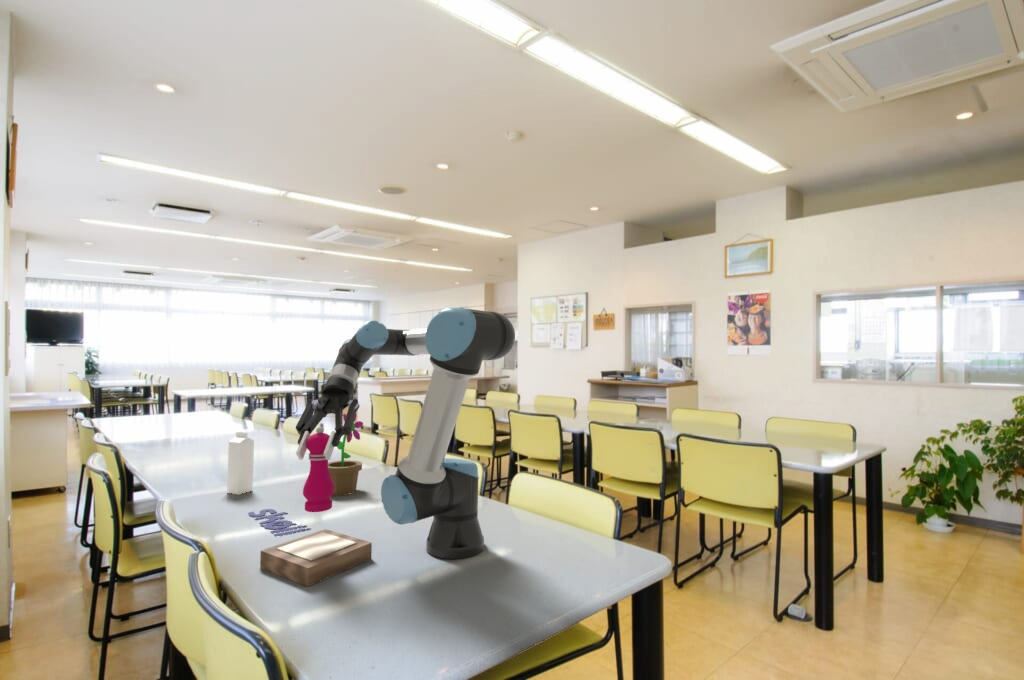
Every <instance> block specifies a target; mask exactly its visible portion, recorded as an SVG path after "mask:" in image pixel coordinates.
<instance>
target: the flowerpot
mask: <svg viewBox="0 0 1024 680" xmlns="http://www.w3.org/2000/svg"><path fill="white" fill-rule="evenodd" d="M346 416H347V413H343V417H342V420H343V421H344V422H345V419H346ZM356 419H357V413H356V414H355V418H354V422H353V426H352V429H351V433H350V435H343V436H342V437H343V438H342V441H341V440H340V442H339V445H338V446H337V447H336V448H337V449H338V450H339V451H340V450H341V451H340V452H341V455H340V456H341V457H340V458H341V460H335V461H328V470H329V474H330V476H331V478H332V481H333V483H334V493H333V495H332V496H336V495H339V496H345V495H344V494H348V495H350V494H349V493H352V494H354V493H356V492H357V485H358V478H359V471H363V470H362V469H363V462H361V461H360V460H359V461H358V460H348V459H350V458H351V457H352V456H351V455H350V454H349V453H347V452H345V444H346V442H347V443H351V440H353V437H354V438H355V439H356V440H357V441H360V439H361V434H360V432H359V431H358V430H357V429H359V428H362V427H363V425H364V423H363V421H360V420H359V421H357V420H356ZM355 421H356V422H355ZM343 427H344V425H343ZM345 459H347V460H345ZM355 491H356V492H355ZM353 492H354V493H353Z"/></svg>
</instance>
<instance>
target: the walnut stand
mask: <svg viewBox="0 0 1024 680" xmlns="http://www.w3.org/2000/svg"><path fill="white" fill-rule="evenodd" d="M372 544H373V543H372V542H371V541H368V540H364V539H360V538H358V537H354V536H351V535H347V534H345V533H340V532H337V531H333V530H330V529H327V528H324V529H321V530H318V531H315V532H313V533H310V534H305V535H303V536H301V537H297V538H294V539H291V540H288V541H285V542H282V543H279V544H276V545H273V546H271V547H267V548H265V549H262V550H260V558H259V559H260V560H259V563H260V564H259V565H260V566H259V569H262V570H265V571H268V572H270V573H272V574H274V575H278V576H280V577H282V578H285V579H287V580H290V581H292V582H295V583H298V584H299V583H300V584H299V585H302V584H303V586H304V585H305V586H304V587H307V586H308V587H310V586H309V585H311V584H313V583H315V584H317V583H319V582H318V581H320V580H322V581H324V580H326V579H325V578H327V577H329V578H331V577H333V576H335V575H334V574H336V575H338V574H340V573H342V572H341V571H343V572H345V571H346V569H347V570H349V569H351V568H350V567H352V568H353V566H354V567H356V566H359V565H361V564H363V563H365V562H367V560H368V561H370V560H372V551H373V549H372V548H373V547H372V546H373V545H372ZM369 559H370V560H369ZM362 562H363V563H362ZM360 563H361V564H360ZM358 564H359V565H358ZM348 568H349V569H348ZM344 570H345V571H344ZM339 572H340V573H339ZM337 573H338V574H337ZM332 575H333V576H332ZM330 576H331V577H330ZM323 579H324V580H323ZM327 579H328V578H327ZM316 582H317V583H316ZM320 582H321V581H320ZM313 585H314V584H313ZM311 586H312V585H311Z"/></svg>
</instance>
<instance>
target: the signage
mask: <svg viewBox="0 0 1024 680" xmlns="http://www.w3.org/2000/svg"><path fill="white" fill-rule="evenodd" d="M268 511H269V513H270V514H268V515H266V514H267V513H268ZM274 513H275V514H274ZM247 514H248V516H249V517H251V518H254V521H259V519H260V520H263V519H264V518H265V519H267V518H268V519H269V520H268V519H267V520H265V519H264V520H263V521H260V522H259V527H262V528H264V529H265V530H268V531H269V530H270V533H271V534H272V535H273V536H274V535H275V536H274V537H276V536H280V537H283V535H285V536H288V534H289V535H292V533H293V534H297V533H296V532H298V533H301V532H300V531H302V532H306V531H305V530H307V531H310V530H309V529H311V530H312V528H309V527H306V526H307V525H304V526H302V524H301V525H297V523H296V522H293V521H291V520H288V519H287V520H285V517H284V515H283V514H285V515H288V514H289V513H288V512H285V511H283V512H282V511H281V512H278V513H277V510H275V509H274V508H270V509H269V508H267V509H266V508H265V509H262V510H259V513H258V514H256V513H255V511H251V512H250V511H249V512H248V513H247ZM279 515H280V516H279ZM261 516H262V517H261ZM259 517H260V518H259ZM255 518H256V519H255ZM278 519H280V520H278ZM283 523H285V524H283ZM289 526H290V527H289ZM291 526H292V527H291ZM296 526H297V527H296ZM287 527H288V528H287ZM301 527H303V528H301ZM283 528H284V529H283ZM297 528H299V529H297ZM305 528H307V529H305ZM277 529H279V530H277ZM293 529H294V530H293ZM289 530H290V531H289ZM284 531H285V532H284ZM280 532H281V533H280ZM274 533H276V534H274Z"/></svg>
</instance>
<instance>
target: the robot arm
mask: <svg viewBox="0 0 1024 680" xmlns="http://www.w3.org/2000/svg"><path fill="white" fill-rule="evenodd" d="M513 325H514V324H513V323H512V322H511V321H510V320H509V318H508V317H506V316H505V315H504V314H501V313H499V312H497V311H489V310H488V311H487V310H479V309H472V308H466V307H461V306H460V307H446V308H443V309H442V310H440V311H438V312H437V313H435V314H434V316H433V317H432V318H431V319H430V321H429V322H428V325H427V327H425V328H424V327H423V328H411V329H410V328H409V329H393V328H388V327H386V325H384V324H383V323H382V322H379V321H378V320H373V319H372V320H368V321H366V322H365V323H364V324H363V325H361V327H359V328H358V329H357V330H356V332H355V334H354V335H353V336H352V337H351V338H349V339H346V340H344V342H343V343H342V345H341V347H339V350H338V354H337V356H336V358H335V360H334V363H333V366H332V368H331V370H330V373H329V376H328V377H327V380H326V382H325V384H324V387H323V389H322V392H321V395H320V396H319V397H318V399H314V400H313V399H311V398H308V399H307V400H306V407H305V408H304V410H303V412H302V414H301V416H300V418H299V420H298V422H297V424H296V425H295V430H296V432H297V433H298V435H299V438H298V440H297V444H298V447H297V450H296V452H295V454H296V456H297V458H298V459H299V460H302V461H303V459H304V457H305V455H306V452H307V451H308V449H307V440H308V438H309V437H310V436H311V435H312V433H313V431H314V430H315V429H317V427H318V425H319V424H320V423H321V421H322V420H323V419H324V418H326V417H327V416H328V415H330V414H333V415H334V421H335V422H334V426H335V427H334V430H332V431H331V432H330V435H329V436H330V437H329V440H328V442H327V445H326V448H325V451H324V453H323V454H324V456H325V458H326V460H328V461H330V460H331V458H332V455H333V451H334V449H335V448H337V446H338V445H339V442H340V441H341V439H342V437H344V435H350V433H351V429H352V426H353V422H354V423H355V421H354V418H355V414H356V415H357V411H358V410H359V409H360V403H359V401H358V399H357V398H355V399H353V400H352V397H353V395H354V394H353V393H354V391H355V387H356V386H357V382H358V379H359V376H360V374H361V371H362V368H363V367H364V365H365V364H366V363H367V362H368V361H369V360H370V359H371V358H372V357H373V356H374V355H375V356H376V355H379V356H383V355H384V356H385V355H386V356H390V355H391V356H408V357H409V356H419V355H430V357H429V362H430V363H431V365H432V367H433V369H432V372H431V373H432V374H431V376H430V380H429V384H428V386H427V390H426V394H425V397H424V400H423V404H422V407H421V410H420V414H419V418H418V421H417V424H416V428H415V430H414V434H413V438H412V440H411V444H410V448H409V450H408V451H409V452H408V454H407V456H405V457H402V458H401V459H400V460H399V462H398V466H397V469H396V471H395V474H390V475H389V476H387V477H385V478H384V479H383V481H382V483H381V487H380V499H381V502H382V506H383V509H384V511H385V514H386V515H387V516H388V518H389V519H390V520H391V521H392V522H393V523H395V524H397V525H407V524H414V523H416V522H419V521H422V520H425V519H429V518H431V517H433V519H432V522H431V526H430V529H429V532H428V535H427V538H426V541H425V542H426V547H425V548H426V550H425V551H426V552H427V553H428V554H429V555H430V556H433V557H435V558H440V559H450V560H451V559H453V560H457V559H465V558H466V559H467V558H470V557H473V556H476V555H478V554H480V553H482V551H484V549H485V538H484V535H483V533H482V532H483V531H482V529H481V524H480V521H479V518H478V516H479V515H478V513H479V510H478V509H479V503H478V502H479V479H480V477H479V469H478V468H479V466H478V465H477V463H475V462H474V461H471V460H467V459H461V458H448V457H446V454H447V453H448V448H449V446H450V444H451V440H452V437H453V433H454V431H455V430H454V429H455V426H456V424H457V421H458V417H459V414H460V411H461V407H462V404H463V401H464V398H465V394H466V392H467V389H468V385H469V382H470V379H472V378H473V377H475V376H477V375H478V374H480V373H479V372H480V369H481V366H482V363H483V361H494V360H499V359H501V358H504V357H505V356H507V355H508V354H509V353H510V352H511V350H512V349H513V347H514V345H515V340H516V332H515V327H514V326H513ZM347 407H348V409H347V413H346V415H347V416H346V419H345V421H344V424H343V414H344V410H345V409H346V408H347ZM315 410H316V411H315ZM343 426H344V427H343Z"/></svg>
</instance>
